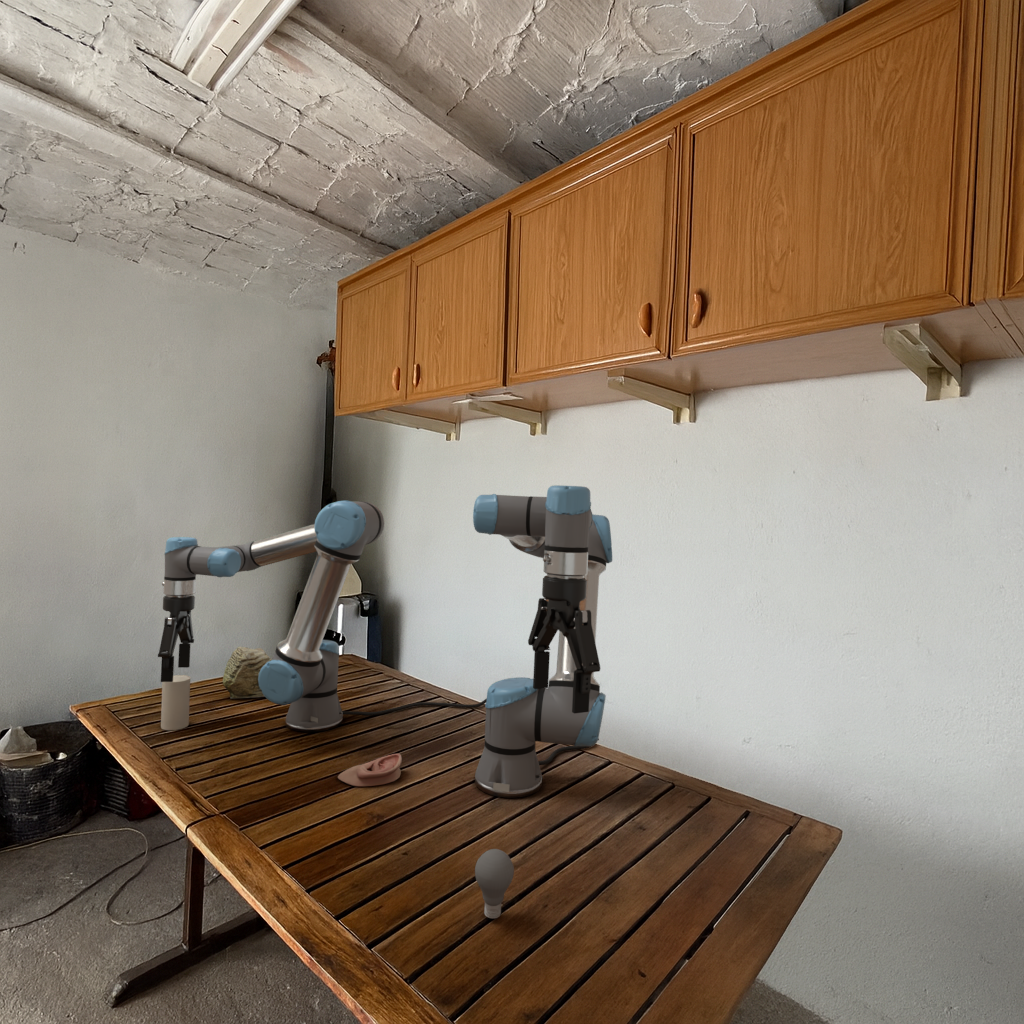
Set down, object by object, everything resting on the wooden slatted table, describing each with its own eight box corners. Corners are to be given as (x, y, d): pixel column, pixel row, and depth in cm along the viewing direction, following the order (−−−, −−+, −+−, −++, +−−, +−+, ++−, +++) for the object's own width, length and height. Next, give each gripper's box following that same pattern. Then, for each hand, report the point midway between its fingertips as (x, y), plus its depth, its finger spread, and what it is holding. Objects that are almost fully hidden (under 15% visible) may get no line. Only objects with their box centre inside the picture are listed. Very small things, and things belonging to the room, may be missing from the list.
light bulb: (472, 903, 100) (475, 841, 100) (510, 903, 101) (513, 841, 101) (473, 929, 94) (476, 863, 94) (513, 928, 95) (516, 862, 95)
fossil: (218, 695, 195) (220, 647, 195) (278, 685, 208) (279, 640, 207) (228, 703, 189) (230, 653, 188) (289, 692, 201) (290, 645, 201)
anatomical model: (331, 765, 140) (354, 745, 151) (331, 782, 140) (354, 762, 151) (388, 772, 137) (407, 752, 148) (387, 791, 137) (406, 769, 148)
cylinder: (157, 730, 166) (158, 682, 166) (165, 721, 172) (167, 675, 172) (184, 730, 167) (186, 681, 167) (191, 721, 174) (193, 674, 173)
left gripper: (179, 587, 181) (176, 661, 181) (146, 602, 156) (142, 688, 156) (207, 588, 182) (204, 661, 182) (179, 603, 157) (175, 688, 158)
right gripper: (513, 567, 118) (508, 681, 118) (585, 586, 95) (579, 726, 96) (548, 567, 121) (543, 677, 121) (626, 585, 99) (620, 721, 99)
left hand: (175, 674), depth 169 cm, fingers open, 13 cm apart
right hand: (559, 699), depth 109 cm, fingers open, 13 cm apart
